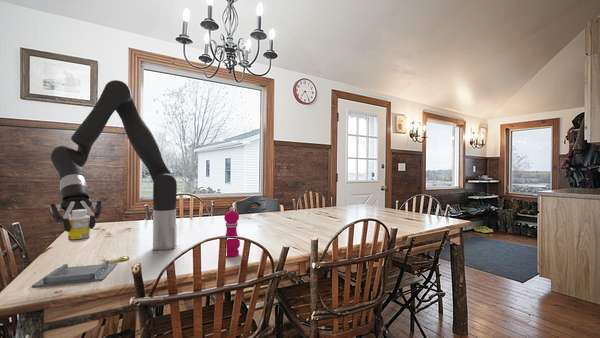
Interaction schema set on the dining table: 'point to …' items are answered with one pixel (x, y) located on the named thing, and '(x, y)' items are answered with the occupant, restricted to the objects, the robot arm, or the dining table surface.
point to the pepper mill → (232, 232)
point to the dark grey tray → (76, 274)
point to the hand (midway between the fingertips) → (80, 228)
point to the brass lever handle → (119, 259)
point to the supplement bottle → (79, 226)
